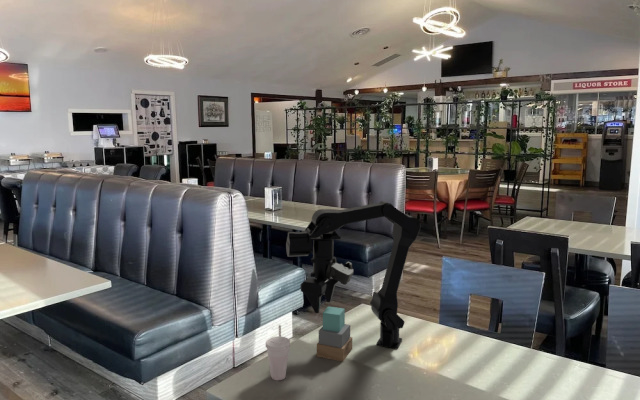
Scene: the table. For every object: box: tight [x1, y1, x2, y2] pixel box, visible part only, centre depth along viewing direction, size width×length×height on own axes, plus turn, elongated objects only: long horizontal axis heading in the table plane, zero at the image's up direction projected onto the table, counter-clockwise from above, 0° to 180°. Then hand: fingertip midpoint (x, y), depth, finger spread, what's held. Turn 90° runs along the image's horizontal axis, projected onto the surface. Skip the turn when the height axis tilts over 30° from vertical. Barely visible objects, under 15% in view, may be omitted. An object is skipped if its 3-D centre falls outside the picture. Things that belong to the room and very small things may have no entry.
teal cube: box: [322, 306, 346, 332], centre depth 132 cm, size 5×5×5 cm
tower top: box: [318, 323, 351, 348], centre depth 133 cm, size 7×7×4 cm
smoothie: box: [265, 324, 291, 381], centre depth 120 cm, size 6×6×14 cm
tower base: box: [316, 336, 353, 362], centre depth 133 cm, size 8×8×4 cm
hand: (322, 307), depth 133 cm, fingers open, 9 cm apart
